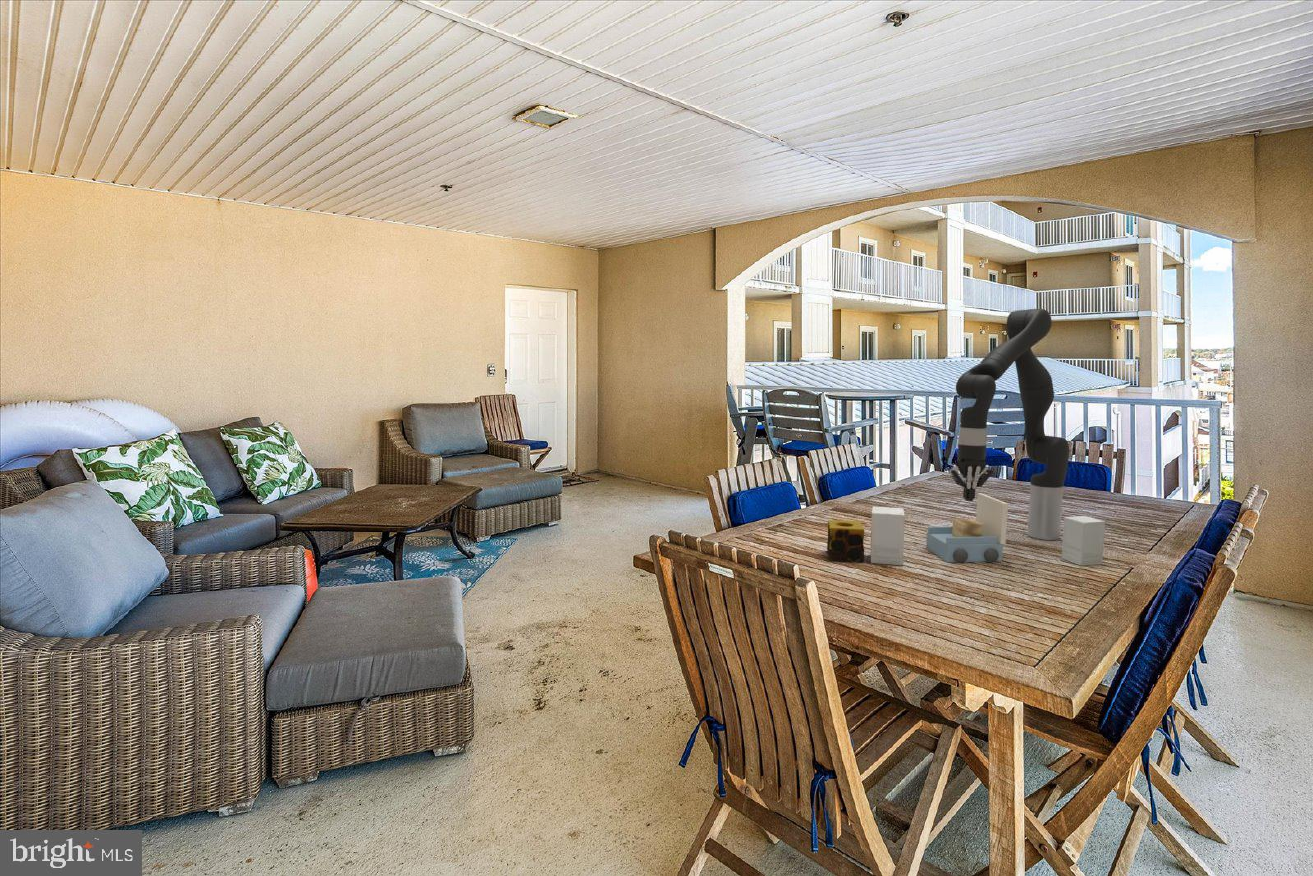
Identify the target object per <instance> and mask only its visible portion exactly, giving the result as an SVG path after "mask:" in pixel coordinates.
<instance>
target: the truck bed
mask: <svg viewBox="0 0 1313 876" xmlns="http://www.w3.org/2000/svg"><path fill="white" fill-rule="evenodd" d="M952 529H953V525H951V526H949V525H947V526H945V525H944V526H943V525H942V526H940V525H939V526H927V532H926V541H925V542H926V545H925V546H926V547H925V548H926V549H927V550H928V551H930V552H931V553H933V554H934V555H936V556H938V557H939V558H940V559H942V560H943V561H945V562H946V563H959V564H963V563H976V562H977V563H978V562H979V563H980V562H981V563H983V562H985V563H987V562H989V563H994V562H1002V561H1003V551H1004V550H1003V549H1004V544H999V543H997V537H995V536H989V537H986V536H984V535H982V537H954V536H952Z"/></svg>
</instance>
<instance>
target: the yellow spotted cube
mask: <svg viewBox="0 0 1313 876" xmlns="http://www.w3.org/2000/svg"><path fill="white" fill-rule="evenodd" d="M864 539H865V528H864V526H863V524H862V522H861V521H859V520H842V519H841V520H835V519H829V520H827V542H826V543H827V544H826V545H827V547H826V552H827V557H828V559H827V560H829V561H832V562H846V563H847V562H853V563H854V562H855V563H865V545H864V542H865V541H864Z"/></svg>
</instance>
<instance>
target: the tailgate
mask: <svg viewBox="0 0 1313 876" xmlns="http://www.w3.org/2000/svg"><path fill="white" fill-rule="evenodd" d="M976 497H977V500H976V516H975V519H976V520H975V521H977V522H979V523H981V524H983V532H982V535H984V536H986V537H989V536H995V537H997V543H999V544H1003V545H1006V541H1007V539H1006V538H1007V527H1008V526H1007V525H1008V523H1007V522H1008V512H1009V511H1008V509H1009V503H1007V502H1005V501H1003V500H1000V499H998V498H994V497H993V496H990V495H988V494H984V493H981V492H979V493H977V496H976Z"/></svg>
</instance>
